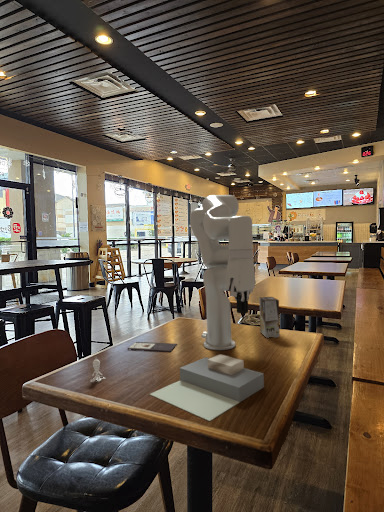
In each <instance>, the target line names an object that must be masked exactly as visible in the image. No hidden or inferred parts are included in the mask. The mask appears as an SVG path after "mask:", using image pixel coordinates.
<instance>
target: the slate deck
mask: <svg viewBox="0 0 384 512" xmlns="http://www.w3.org/2000/svg"><path fill="white" fill-rule="evenodd" d="M207 359H210V357H203V358H201V359H198V360H196V361H193V362H191V363H189V364H186V365H183V366H181V367H179V380H181V381H184V382H187V383H189V384H192V385H195V386H197V387H200V388H203V389H206V390H208V391H211V392H214V393H216V394H219V395H222V396H225V397H227V398H230V399H233V400H236V401H238V402H239V403H241V402H243V401H245V400H246V399H248V398H249V397H251V396H252V395H254V394H255V393H257V392H259V391H260V390H262V389H263V388H265V380H264V379H265V377H264V374H265V373H263V372H260V371H256V370H253V369H249V368H245V367H244V369H242V370H240V371H238V372H236V373H234V374H232V375H230V374H227V373H224V372H220V371H217V370H214V369H211V368H208V361H207ZM239 403H238V404H239Z"/></svg>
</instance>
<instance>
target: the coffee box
mask: <svg viewBox="0 0 384 512" xmlns="http://www.w3.org/2000/svg"><path fill="white" fill-rule="evenodd" d="M258 300H259V322H260V323H259V325H260V326H259V327H260V329H259V330H260V332H261V333H262V334H263V335H264V336H265V337H266V339H270V338H269V337H274V338H280V337H279V336H280V335H281V334H280V331H281V330H280V299H277V298H275V297H274V296H262V297H259V299H258ZM261 333H260V334H261ZM262 334H261V335H262ZM264 336H263V337H264Z"/></svg>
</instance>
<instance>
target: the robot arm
mask: <svg viewBox="0 0 384 512" xmlns="http://www.w3.org/2000/svg"><path fill="white" fill-rule="evenodd" d="M201 203H202V204H201V207H198V208H195V209H193V210H192V211H191V212H190V216H189V224H190V227H191V231H192V233H193V235H194V237H195V239H196V240H197V242H198V246H199V250H200V256H201V259H202V263H203V265H204V266H205V267H206V269H205V270H204V271H203V276H202V278H203V279H202V280H203V286H204V292H205V303H206V304H205V306H206V308H205V309H206V331H203V332H202V333H201V334H200V337H201V338H202V339H205V340H204V342H203V346H204V348H206V349H208V350H212V351H213V350H214V351H227V350H230V349H231V350H232V349H233V348H235V347H236V342H235V341H234V340H233V339H232V322H231V321H232V320H231V302H230V299H229V297H228V296H227V295H226V294H225V292H226V291H227V292H230V294H229V295H230V297H233V298H234V300H235V302H236V313H237V314H241V315H245V314H248V313H249V300H250V296H251V294H252V293H253V292H254V289H255V287H256V273H255V272H256V269H255V264H254V250H253V249H254V243H253V240H254V239H253V235H254V234H253V218H252V217H251V216H249V215H237V214H238V212H239V207H240V205H239V200H238V199H237V197H236V196H235V195H232V194H210V195H208V196H206V197H205V198H204V199H203V201H202V202H201ZM223 240H226V241H227V240H228V244H224V245H223V244H220V241H223Z"/></svg>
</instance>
